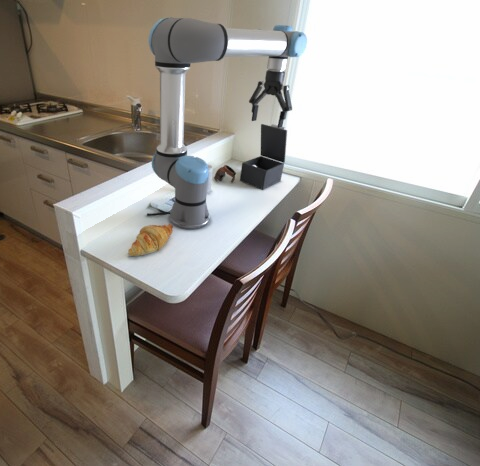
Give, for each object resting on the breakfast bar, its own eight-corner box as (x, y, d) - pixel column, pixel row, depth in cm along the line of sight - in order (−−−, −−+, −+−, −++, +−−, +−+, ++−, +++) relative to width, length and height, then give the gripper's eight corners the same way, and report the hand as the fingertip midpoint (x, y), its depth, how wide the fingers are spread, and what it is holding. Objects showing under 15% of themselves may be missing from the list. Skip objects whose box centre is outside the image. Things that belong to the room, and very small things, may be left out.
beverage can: (197, 187, 149) (199, 163, 142) (211, 189, 148) (213, 164, 142) (195, 193, 144) (197, 168, 137) (210, 195, 143) (212, 169, 136)
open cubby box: (262, 189, 150) (266, 171, 145) (239, 180, 158) (242, 162, 153) (280, 181, 160) (284, 163, 155) (257, 173, 168) (260, 155, 163)
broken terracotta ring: (216, 175, 164) (226, 162, 160) (230, 187, 162) (240, 175, 158) (207, 177, 153) (217, 163, 149) (221, 190, 152) (232, 176, 148)
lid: (286, 130, 143) (292, 126, 146) (260, 124, 151) (267, 120, 154) (284, 163, 155) (289, 158, 157) (260, 155, 162) (266, 150, 165)
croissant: (136, 270, 102) (144, 257, 96) (115, 248, 103) (121, 234, 98) (177, 240, 116) (185, 227, 111) (157, 221, 118) (165, 207, 112)
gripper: (308, 73, 126) (296, 128, 137) (255, 66, 140) (248, 117, 151) (299, 74, 121) (286, 131, 132) (245, 67, 135) (238, 119, 147)
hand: (266, 123), depth 142 cm, fingers open, 13 cm apart
